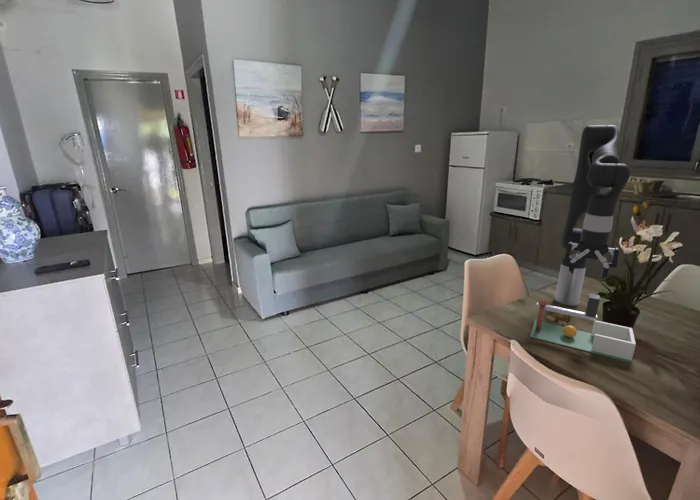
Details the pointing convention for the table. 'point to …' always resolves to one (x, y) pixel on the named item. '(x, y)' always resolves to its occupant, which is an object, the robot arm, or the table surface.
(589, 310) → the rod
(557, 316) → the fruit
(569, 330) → the ball
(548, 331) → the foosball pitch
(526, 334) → the table surface
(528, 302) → the table surface
